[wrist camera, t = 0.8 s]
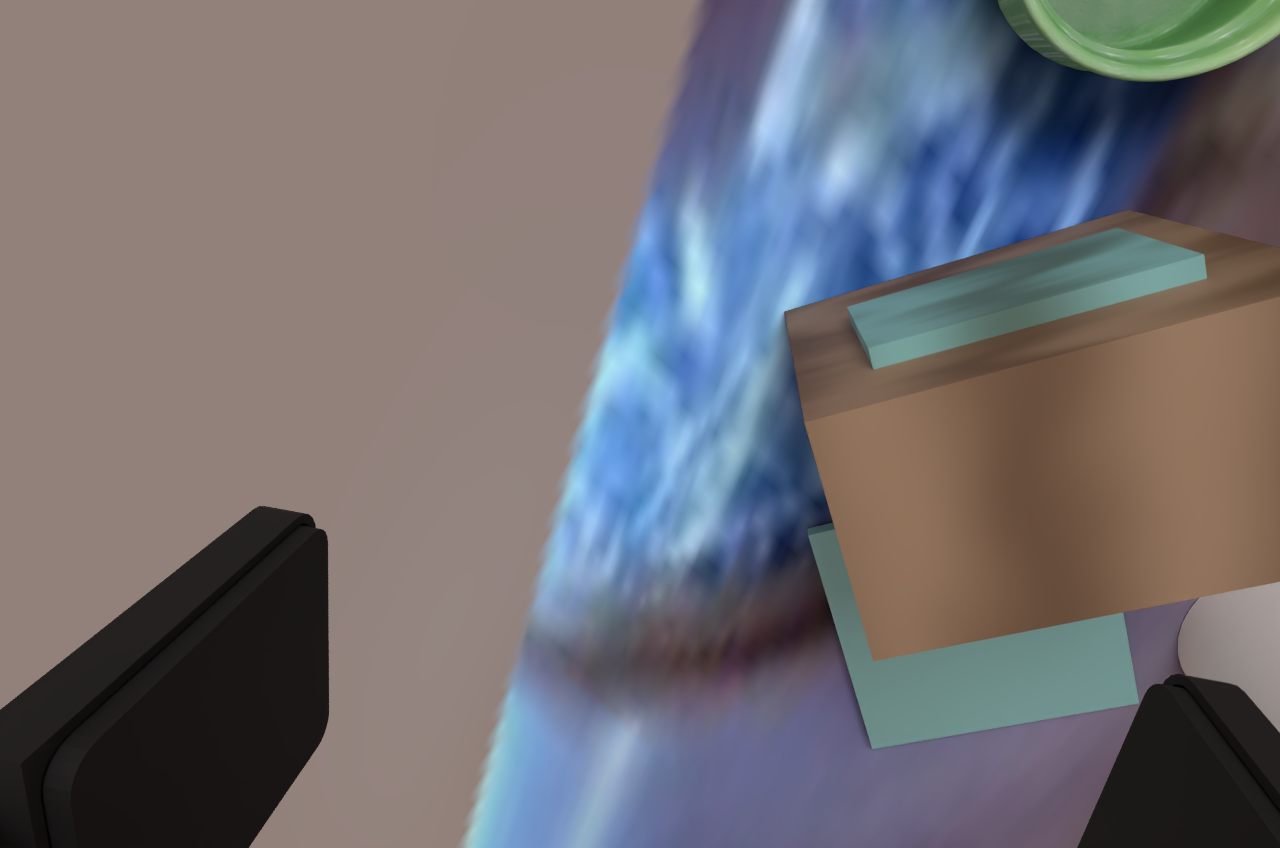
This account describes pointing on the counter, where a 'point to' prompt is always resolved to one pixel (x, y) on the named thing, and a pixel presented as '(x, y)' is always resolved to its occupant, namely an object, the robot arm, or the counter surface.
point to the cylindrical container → (1237, 643)
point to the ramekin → (1144, 34)
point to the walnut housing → (1049, 430)
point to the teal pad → (975, 670)
